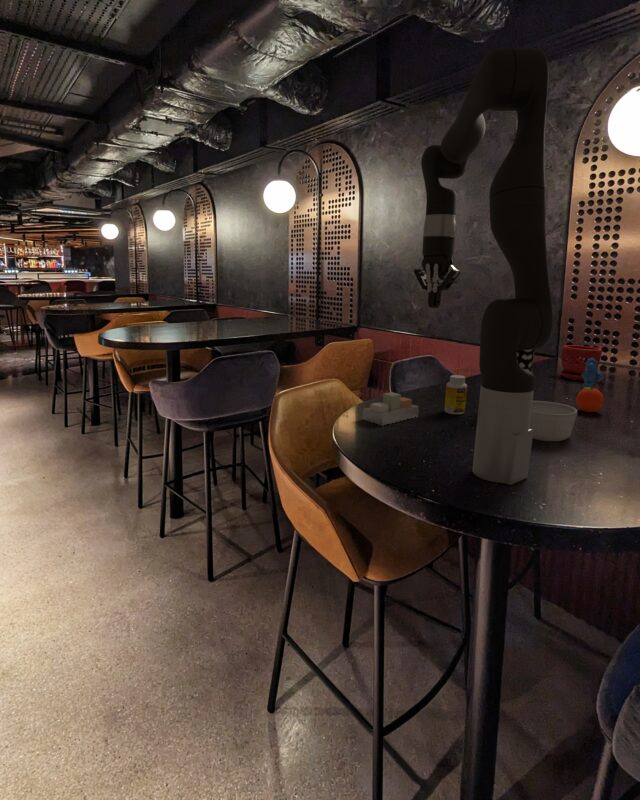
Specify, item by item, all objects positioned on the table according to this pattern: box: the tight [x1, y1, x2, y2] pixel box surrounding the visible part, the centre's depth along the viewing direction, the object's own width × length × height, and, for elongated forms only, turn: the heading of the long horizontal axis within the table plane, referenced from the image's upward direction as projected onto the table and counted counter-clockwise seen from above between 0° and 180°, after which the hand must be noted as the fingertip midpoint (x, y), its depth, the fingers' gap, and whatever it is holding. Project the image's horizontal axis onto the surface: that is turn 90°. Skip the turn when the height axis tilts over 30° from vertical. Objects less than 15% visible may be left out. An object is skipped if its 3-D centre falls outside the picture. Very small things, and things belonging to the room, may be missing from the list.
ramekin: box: [529, 400, 578, 442], centre depth 121 cm, size 13×13×7 cm
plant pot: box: [560, 344, 603, 381], centre depth 189 cm, size 13×13×12 cm
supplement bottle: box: [443, 374, 468, 415], centre depth 139 cm, size 6×6×10 cm
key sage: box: [382, 391, 402, 410], centre depth 132 cm, size 3×3×4 cm
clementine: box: [575, 387, 605, 413], centre depth 143 cm, size 8×7×7 cm
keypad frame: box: [361, 403, 420, 427], centre depth 133 cm, size 7×14×3 cm, turn 130°
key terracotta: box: [400, 396, 413, 407], centre depth 135 cm, size 3×3×4 cm
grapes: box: [581, 357, 605, 390], centre depth 164 cm, size 12×7×12 cm, turn 151°
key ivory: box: [369, 401, 388, 413], centre depth 129 cm, size 3×3×4 cm
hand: (433, 307), depth 127 cm, fingers closed
